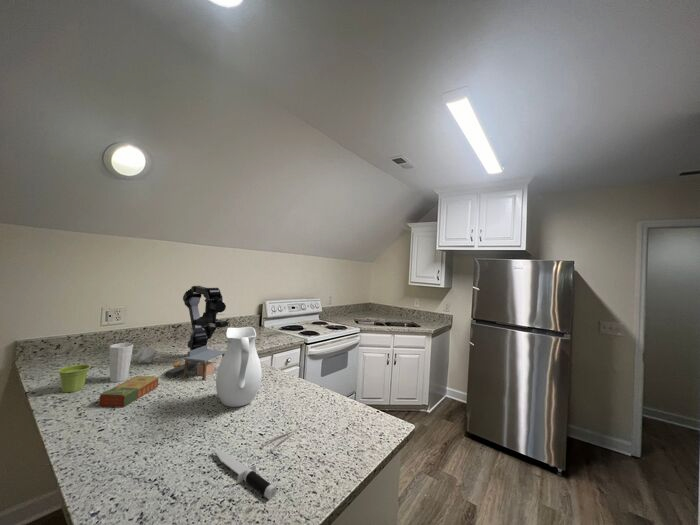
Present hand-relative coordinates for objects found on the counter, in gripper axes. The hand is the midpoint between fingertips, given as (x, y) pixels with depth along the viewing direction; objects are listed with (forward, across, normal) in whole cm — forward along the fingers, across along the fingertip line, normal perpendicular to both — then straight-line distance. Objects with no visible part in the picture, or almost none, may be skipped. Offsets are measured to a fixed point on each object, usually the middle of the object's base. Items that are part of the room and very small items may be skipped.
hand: (209, 338), depth 152 cm
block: (+13, +9, -14) cm, 21 cm away
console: (+13, -3, -14) cm, 19 cm away
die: (+13, -30, -10) cm, 34 cm away
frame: (+13, +10, -14) cm, 21 cm away
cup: (+13, -20, -32) cm, 40 cm away
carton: (+14, -1, -43) cm, 45 cm away
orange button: (+10, -3, -18) cm, 21 cm away
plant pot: (+13, -27, -45) cm, 54 cm away
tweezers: (+14, +69, -53) cm, 88 cm away
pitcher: (+13, +43, -38) cm, 59 cm away
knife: (+14, +64, -70) cm, 96 cm away
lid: (+4, +10, -14) cm, 18 cm away
